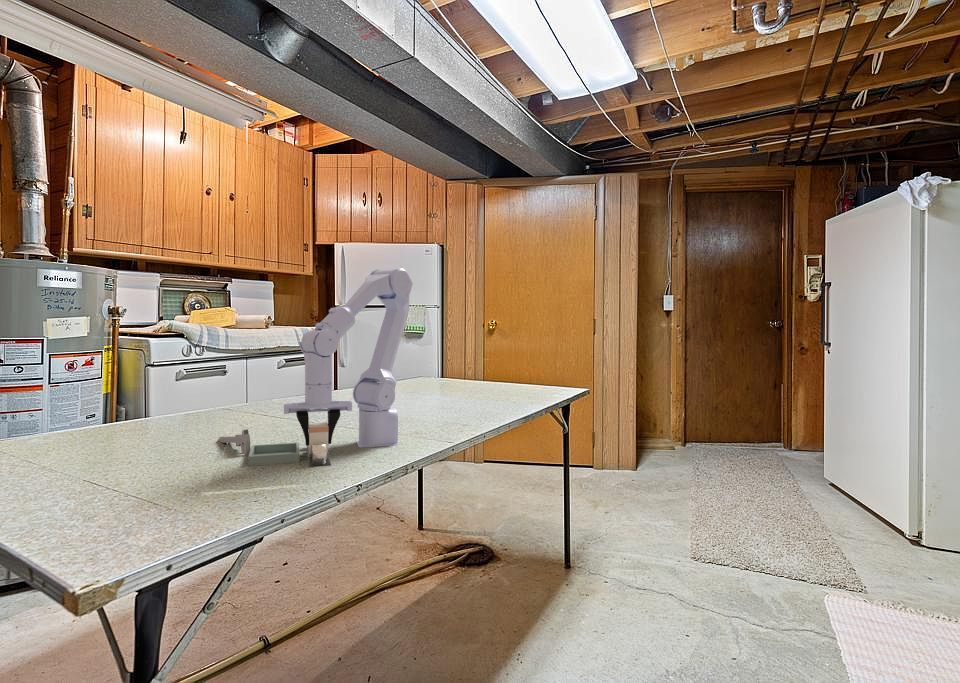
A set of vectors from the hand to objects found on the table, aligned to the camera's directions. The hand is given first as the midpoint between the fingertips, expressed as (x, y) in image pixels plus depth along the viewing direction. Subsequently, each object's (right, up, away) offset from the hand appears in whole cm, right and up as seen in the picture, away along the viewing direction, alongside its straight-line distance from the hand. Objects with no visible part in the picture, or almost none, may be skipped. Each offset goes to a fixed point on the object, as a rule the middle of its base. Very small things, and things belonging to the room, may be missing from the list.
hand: (318, 443), depth 116 cm
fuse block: (0, -3, 0) cm, 3 cm away
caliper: (-22, -3, +6) cm, 23 cm away
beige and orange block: (0, -2, 0) cm, 2 cm away
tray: (-9, -3, -3) cm, 10 cm away
